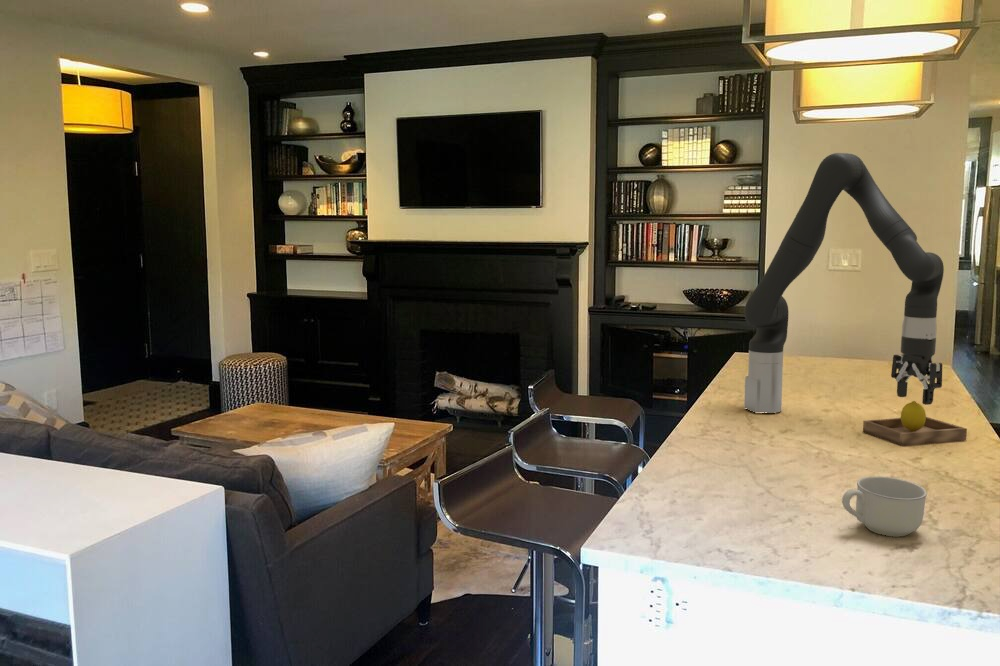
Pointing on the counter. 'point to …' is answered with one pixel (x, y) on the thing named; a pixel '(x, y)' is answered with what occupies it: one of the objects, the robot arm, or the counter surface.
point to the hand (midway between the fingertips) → (914, 400)
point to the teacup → (887, 505)
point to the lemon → (913, 416)
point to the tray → (926, 435)
